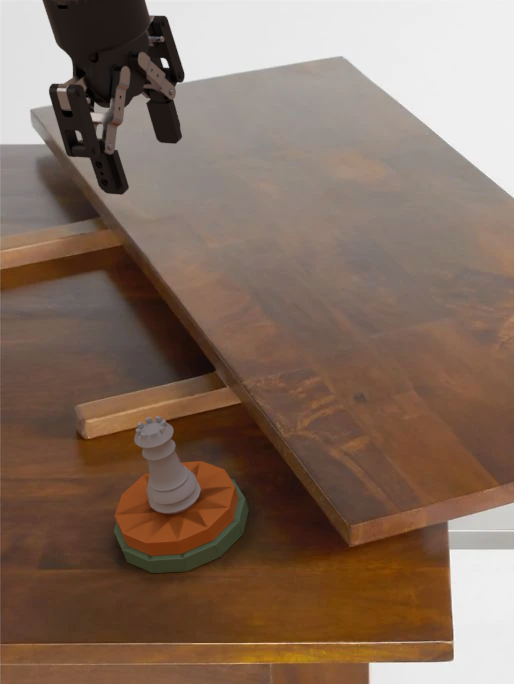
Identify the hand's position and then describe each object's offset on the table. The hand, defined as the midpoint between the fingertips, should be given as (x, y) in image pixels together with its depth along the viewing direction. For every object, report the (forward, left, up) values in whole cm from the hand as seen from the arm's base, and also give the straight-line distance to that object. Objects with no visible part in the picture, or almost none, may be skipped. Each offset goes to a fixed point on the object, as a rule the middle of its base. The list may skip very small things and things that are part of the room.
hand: (144, 166), depth 115 cm
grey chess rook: (0, -16, -23) cm, 28 cm away
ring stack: (0, -16, -26) cm, 31 cm away
